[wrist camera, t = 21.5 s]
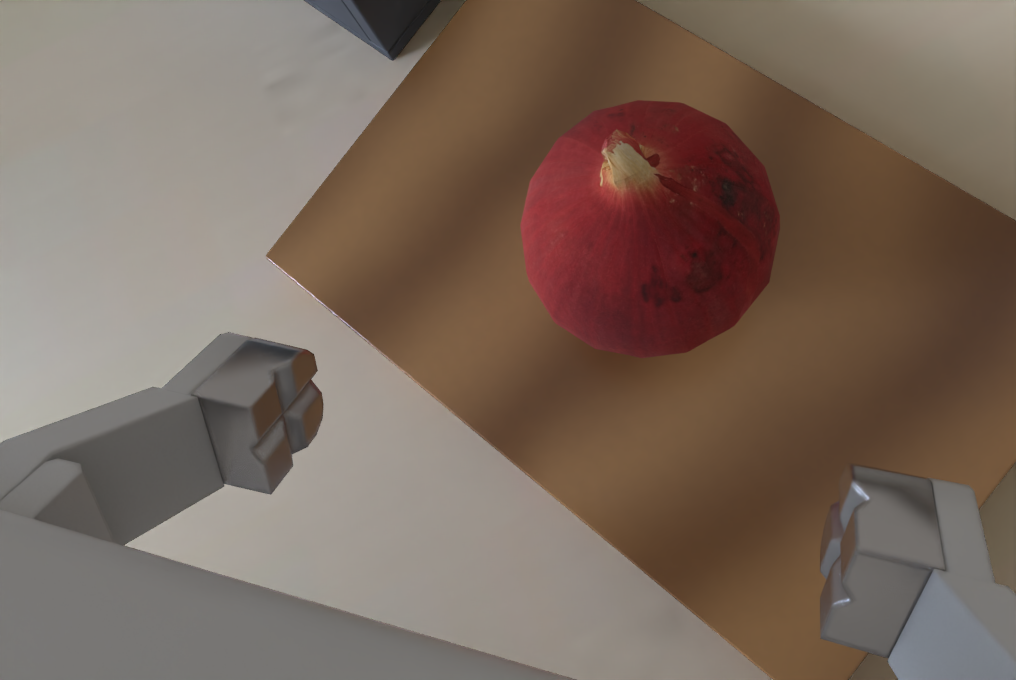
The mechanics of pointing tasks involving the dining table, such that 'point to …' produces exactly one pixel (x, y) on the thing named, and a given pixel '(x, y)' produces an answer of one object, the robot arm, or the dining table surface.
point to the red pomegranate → (649, 229)
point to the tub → (379, 20)
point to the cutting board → (705, 369)
